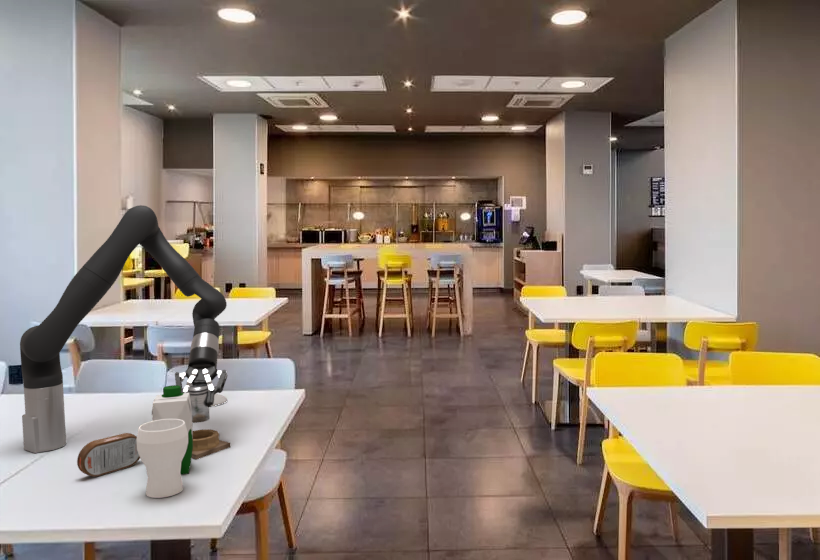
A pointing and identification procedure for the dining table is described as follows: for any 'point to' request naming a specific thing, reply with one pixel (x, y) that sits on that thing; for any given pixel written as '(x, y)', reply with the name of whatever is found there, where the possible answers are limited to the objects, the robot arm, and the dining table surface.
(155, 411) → the milk carton
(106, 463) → the tin
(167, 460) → the cup
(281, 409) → the dining table surface
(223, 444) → the ring board
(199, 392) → the salt shaker
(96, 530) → the dining table surface
